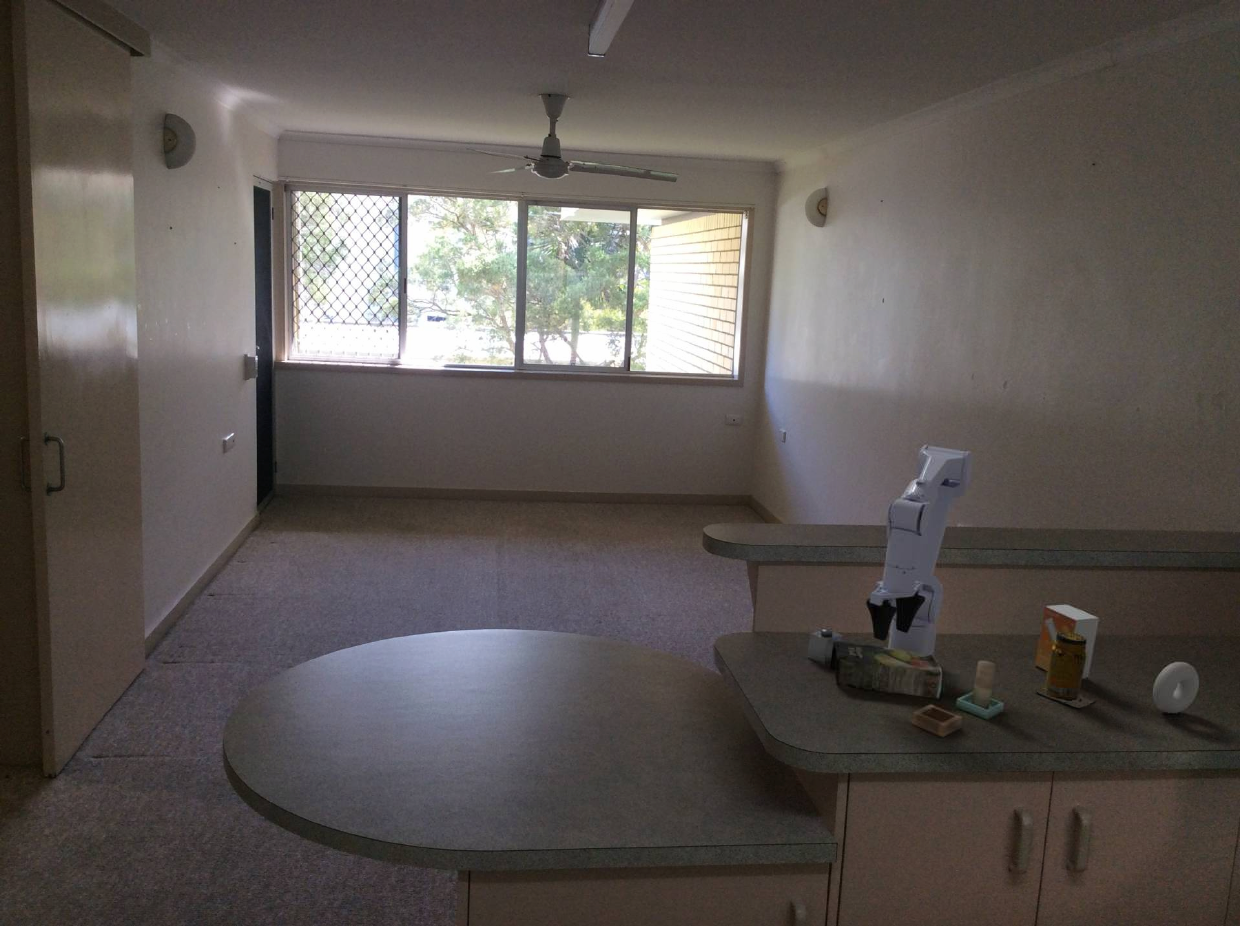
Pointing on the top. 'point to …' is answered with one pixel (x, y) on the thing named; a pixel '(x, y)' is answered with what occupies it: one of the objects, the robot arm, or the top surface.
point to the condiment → (1066, 666)
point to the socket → (936, 720)
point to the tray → (966, 705)
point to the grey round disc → (1167, 682)
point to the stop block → (822, 645)
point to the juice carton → (887, 669)
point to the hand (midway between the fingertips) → (891, 635)
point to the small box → (1065, 621)
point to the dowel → (983, 684)
